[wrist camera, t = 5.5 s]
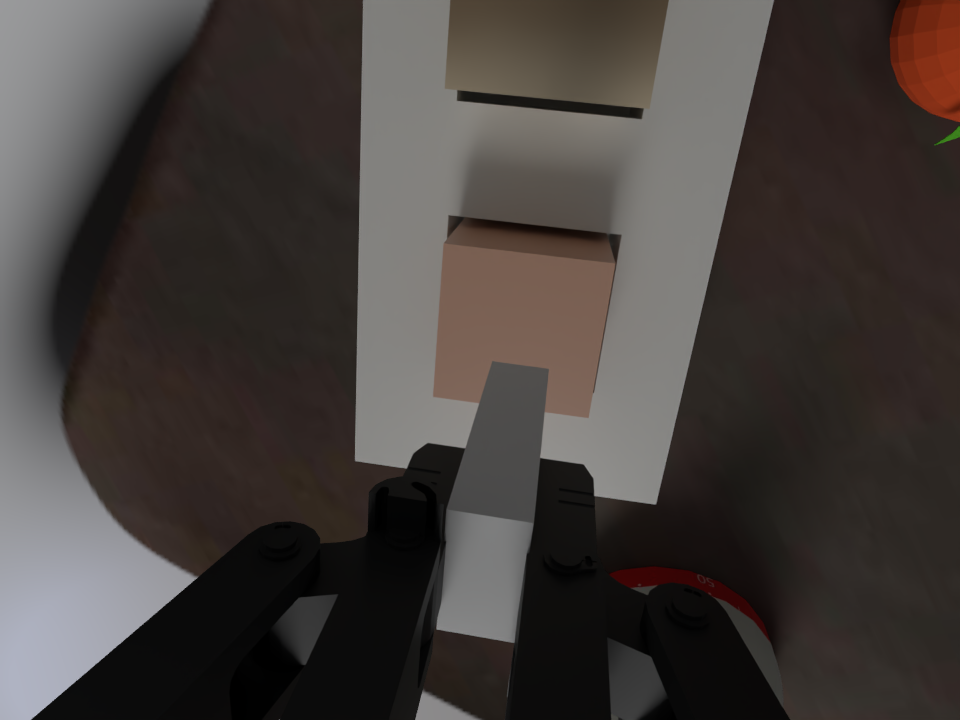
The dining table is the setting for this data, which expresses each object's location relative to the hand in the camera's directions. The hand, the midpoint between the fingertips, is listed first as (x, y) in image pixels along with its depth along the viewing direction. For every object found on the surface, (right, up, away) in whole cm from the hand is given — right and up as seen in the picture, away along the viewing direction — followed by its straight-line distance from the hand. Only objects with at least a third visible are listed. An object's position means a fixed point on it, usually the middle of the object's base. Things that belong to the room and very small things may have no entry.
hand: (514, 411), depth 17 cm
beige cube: (+2, +14, +6) cm, 15 cm away
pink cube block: (+1, +5, +12) cm, 13 cm away
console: (+2, +11, +13) cm, 17 cm away
